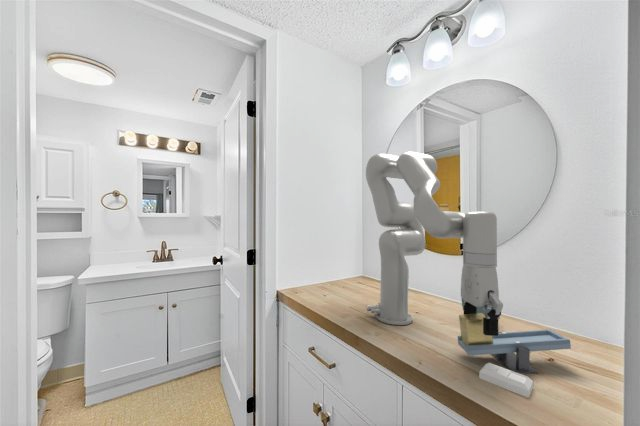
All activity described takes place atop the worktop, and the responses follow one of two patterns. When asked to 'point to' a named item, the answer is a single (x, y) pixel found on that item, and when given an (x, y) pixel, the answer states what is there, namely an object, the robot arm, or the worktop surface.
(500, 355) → the stand
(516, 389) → the soap bar
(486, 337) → the block
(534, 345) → the beam
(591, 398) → the worktop surface
